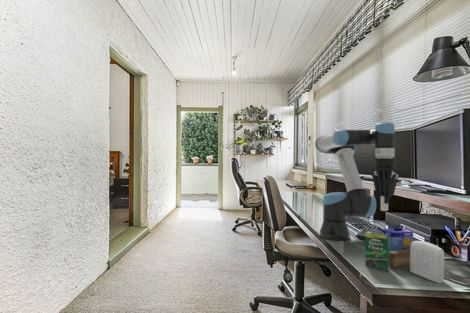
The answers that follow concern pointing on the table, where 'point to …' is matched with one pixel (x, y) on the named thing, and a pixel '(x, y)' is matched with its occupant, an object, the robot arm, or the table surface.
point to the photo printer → (427, 261)
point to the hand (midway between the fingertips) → (384, 210)
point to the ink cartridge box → (398, 238)
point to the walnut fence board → (399, 259)
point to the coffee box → (376, 250)
